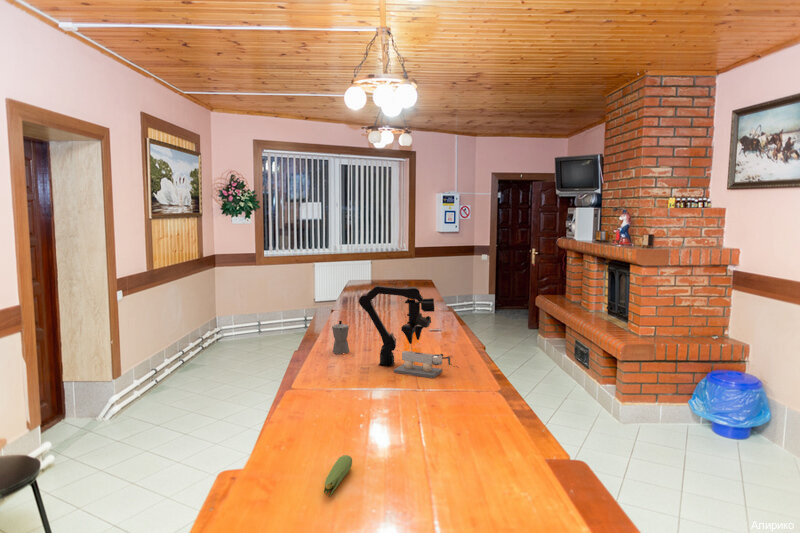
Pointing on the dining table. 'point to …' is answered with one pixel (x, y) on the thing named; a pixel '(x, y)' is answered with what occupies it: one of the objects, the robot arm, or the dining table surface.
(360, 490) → the dining table surface
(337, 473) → the edible corn
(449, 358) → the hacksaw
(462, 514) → the dining table surface
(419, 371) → the tool rack
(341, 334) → the coffeepot
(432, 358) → the spanner
